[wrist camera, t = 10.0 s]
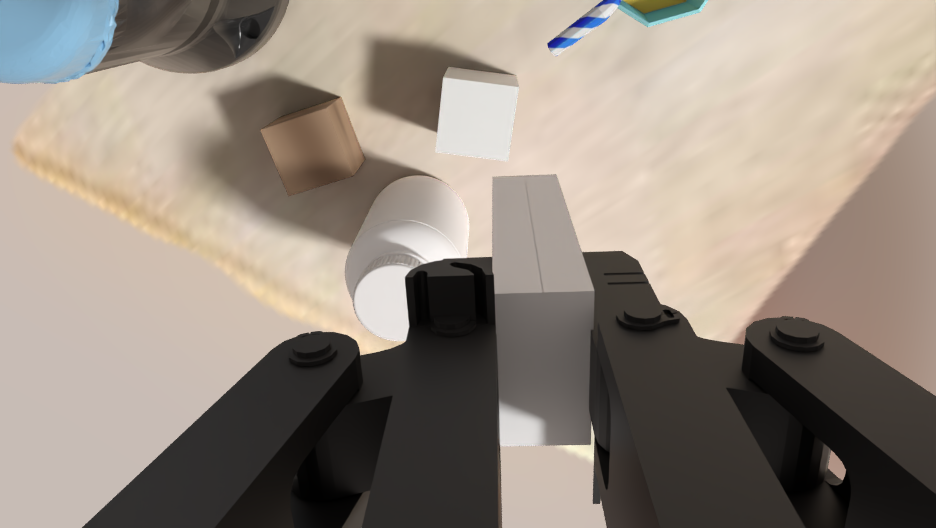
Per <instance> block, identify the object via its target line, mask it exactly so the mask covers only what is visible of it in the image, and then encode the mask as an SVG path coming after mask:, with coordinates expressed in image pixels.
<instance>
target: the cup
mask: <svg viewBox="0 0 936 528" xmlns="http://www.w3.org/2000/svg"><path fill="white" fill-rule="evenodd" d="M707 1H708V0H603V1H602V2H600V3H599V4H598V5H596V6H595V7H594V8H593V9H591V10H590V11H589V12H587V13H586V14H585V15H584V16H582V17H581V18H580V19H578V20H577V21H576V22H575V23H573V24H572V25H571V26H569V27H568V28H567V29H565V30H564V31H563V32H562V33H560V34H559V35H558V36H556V37H555V38H554V39H553V40H551V41H550V42H549V43H547V44H548V48H549V49H550V51H551V53H552V54H553V55H554V56H558V55H559V54H560V53H562V52H563V51H564V50H566V49H567V48H569V47H570V46H571V45H573V44H574V43H575V42H577V41H578V40H580V39H581V38H582V37H584V36H585V35H587V34H588V33H589V32H591V31H592V30H593V29H595V28H596V27H598V26H599V25H600V24H602V23H603V22H604V21H606V20H607V19H608V18H609V17H610V15H611V14H612V13H613V12H614V11H615V10H616V9H617V8H618V9H620V10H621V11H623V12H624V13H626V14H628V15H629V16H631V17H632V18H634V19H635V20H637V21H639V22H640V23H642V24H643V25H645V26H647V27H650V26H653V25H657V24H660V23H664V22H667V21H671V20H674V19H678V18H681V17H685V16H689V15H692V14H696V13H699V12H701V10H702V9H703V7H704V6H705V4H706V3H707Z"/></svg>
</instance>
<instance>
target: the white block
mask: <svg viewBox="0 0 936 528" xmlns="http://www.w3.org/2000/svg"><path fill="white" fill-rule="evenodd" d="M518 90H519V85H518V81H517V77H516V75H509V74H501V73H494V72H486V71H478V70H470V69H462V68H455V67H448V69H447V71H446V73H445V75H444V77H443V84H442V93H441V103H440V113H439V122H438V132H437V141H436V151H435V152H438V153H446V154H454V155H461V156H469V157H477V158H485V159H493V160H501V161H508V159H509V152H510V145H511V138H512V131H513V124H514V118H515V111H516V104H517V97H518Z"/></svg>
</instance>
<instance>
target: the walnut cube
mask: <svg viewBox="0 0 936 528" xmlns="http://www.w3.org/2000/svg"><path fill="white" fill-rule="evenodd" d="M260 131H261V133H262V135H263V138H264V140H265V142H266V145H267V147H268V149H269V152H270V154H271V156H272V159H273V161H274V163H275V165H276V168H277V170H278V172H279V175H280V177H281V179H282V182H283V184H284V186H285V189H286V191H287V193H288V195H289V196H291V195H294V194H297V193H301V192H304V191H307V190H310V189H313V188H317V187H320V186H323V185H326V184H329V183H333V182H336V181H339V180H342V179H345V178H349V177H352V176H354V174H355V173H356V171H357V170H358V169H359V167H360V166H361V164H362V163H363V162H364V160H365V158H364V155H363V153H362V150H361V147H360V145H359V142H358V140H357V137H356V134H355V132H354V129H353V127H352V124H351V121H350V119H349V116H348V113H347V111H346V108H345V106H344V103H343V100H342V98H341V97H339V98H336V99H333V100H330V101H327V102H324V103H321V104H318V105H315V106H312V107H309V108H306V109H303V110H300V111H297V112H294V113H291V114H288V115H285V116H282V117H280V118H278V119H277V120H275V121H273V122H272V123H270V124H269V125H267V126H266V127H264V128H262V129H261V130H260Z"/></svg>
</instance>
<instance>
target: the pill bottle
mask: <svg viewBox="0 0 936 528" xmlns="http://www.w3.org/2000/svg"><path fill="white" fill-rule="evenodd" d="M468 237H469V218H468V214H467V210H466V207H465V205H464V203H463V201H462V199H461V198H460V196H459V195H458V194H457V193H456V192H455V191H454V190H453V189H452V188H451V187H450V186H449V185H447V184H446V183H444V182H442V181H440V180H438V179H435V178H432V177H428V176H420V175H416V176H408V177H404V178H401V179H398V180H396V181H394V182H392V183H391V184H389V185H388V186H387V187H385V188H384V189H383V190H382V191H381V192H380V193H379V195H378V196H377V197H376V199H375V201H374V202H373V204H372V206H371V208H370V210H369V212H368V214H367V216H366V218H365V220H364V222H363V224H362V226H361V228H360V230H359V232H358V234H357V236H356V238H355V240H354V242H353V244H352V246H351V249H350V251H349V253H348V256H347V260H346V265H345V279H346V284H347V288H348V291H349V294H350V296H351V298H352V300H353V306H354V310H355V314H356V316H357V318H358V319H359V321H360V322H361V324H362V325H363V326H364V327H365V328H366V329H367V330H368V331H370V332H371V333H373V334H374V335H376V336H378V337H380V338H383V339H386V340H391V341H406V338H407V334H408V329H409V320H408V309H407V298H406V287H405V276H406V275H407V274H408V272H409V271H410V270H412V269H414V268H416V267H418V266H420V265H422V264H426V263H429V262H433V261H440V260H443V259H447V258H467V251H468Z"/></svg>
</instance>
